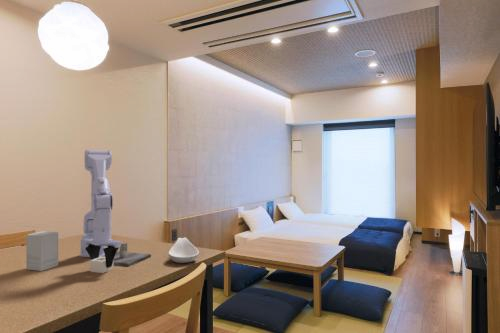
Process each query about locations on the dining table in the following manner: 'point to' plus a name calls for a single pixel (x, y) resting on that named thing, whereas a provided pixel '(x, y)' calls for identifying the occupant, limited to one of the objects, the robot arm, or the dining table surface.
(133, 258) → the post board
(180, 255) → the spoon rest
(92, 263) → the white hollow block
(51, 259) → the supplement box
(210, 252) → the dining table surface
